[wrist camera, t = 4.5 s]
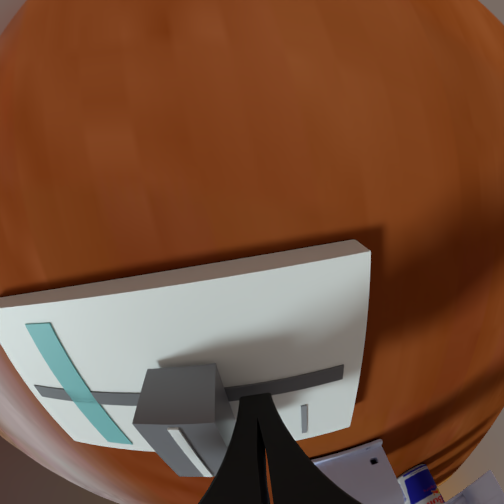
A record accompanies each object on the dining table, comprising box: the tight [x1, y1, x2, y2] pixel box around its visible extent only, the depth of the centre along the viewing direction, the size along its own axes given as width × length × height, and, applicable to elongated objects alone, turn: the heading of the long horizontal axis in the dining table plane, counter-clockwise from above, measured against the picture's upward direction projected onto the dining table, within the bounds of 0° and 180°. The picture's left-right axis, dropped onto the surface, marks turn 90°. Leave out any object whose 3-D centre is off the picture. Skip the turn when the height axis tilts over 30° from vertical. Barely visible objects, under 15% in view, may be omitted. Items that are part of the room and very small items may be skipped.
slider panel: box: [0, 239, 371, 451], centre depth 12 cm, size 20×12×2 cm, turn 98°
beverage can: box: [397, 464, 445, 504], centre depth 19 cm, size 6×6×15 cm
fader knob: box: [132, 363, 236, 477], centre depth 10 cm, size 3×5×3 cm, turn 8°
